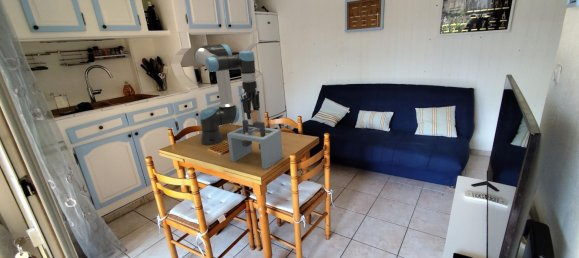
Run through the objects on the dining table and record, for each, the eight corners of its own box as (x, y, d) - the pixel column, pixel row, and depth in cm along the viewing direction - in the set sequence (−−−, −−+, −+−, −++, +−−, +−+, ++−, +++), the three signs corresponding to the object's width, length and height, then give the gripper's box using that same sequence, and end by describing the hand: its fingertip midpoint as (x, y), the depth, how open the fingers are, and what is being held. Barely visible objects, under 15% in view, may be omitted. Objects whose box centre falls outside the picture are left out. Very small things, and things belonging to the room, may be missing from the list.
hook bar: (245, 136, 150) (245, 132, 149) (259, 129, 160) (259, 125, 160) (248, 137, 149) (248, 133, 148) (262, 130, 159) (262, 126, 159)
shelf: (230, 161, 159) (227, 133, 154) (248, 150, 173) (246, 125, 167) (266, 169, 147) (263, 139, 141) (282, 157, 160) (280, 129, 155)
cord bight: (242, 146, 159) (238, 111, 152) (248, 143, 163) (244, 108, 156) (263, 150, 152) (260, 113, 145) (268, 147, 156) (265, 111, 149)
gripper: (244, 84, 137) (249, 128, 144) (264, 78, 151) (267, 119, 158) (233, 83, 140) (238, 126, 148) (253, 78, 154) (257, 118, 162)
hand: (253, 123), depth 153 cm, fingers closed on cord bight, 4 cm apart
